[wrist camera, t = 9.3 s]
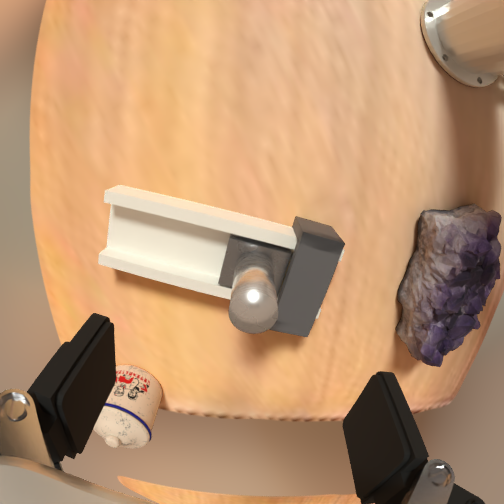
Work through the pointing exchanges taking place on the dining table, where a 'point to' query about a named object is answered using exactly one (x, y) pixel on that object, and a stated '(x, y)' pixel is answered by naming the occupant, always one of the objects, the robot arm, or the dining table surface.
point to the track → (217, 249)
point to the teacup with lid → (130, 408)
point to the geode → (448, 280)
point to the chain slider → (254, 281)
